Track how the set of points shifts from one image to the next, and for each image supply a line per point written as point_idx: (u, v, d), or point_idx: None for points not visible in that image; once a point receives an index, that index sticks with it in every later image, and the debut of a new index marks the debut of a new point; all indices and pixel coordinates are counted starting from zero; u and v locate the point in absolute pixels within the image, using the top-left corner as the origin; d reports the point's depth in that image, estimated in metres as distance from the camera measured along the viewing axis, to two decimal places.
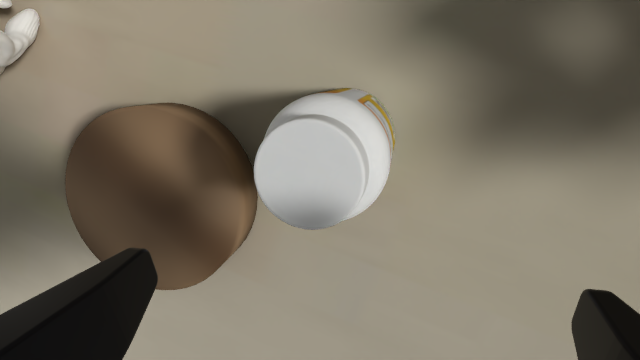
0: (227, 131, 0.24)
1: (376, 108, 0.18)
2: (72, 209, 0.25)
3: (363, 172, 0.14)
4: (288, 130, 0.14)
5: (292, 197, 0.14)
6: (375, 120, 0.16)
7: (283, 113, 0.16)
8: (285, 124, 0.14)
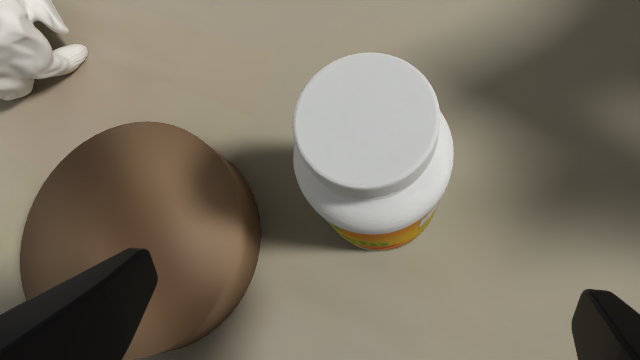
0: (242, 177, 0.21)
1: None
2: (26, 232, 0.20)
3: (438, 114, 0.11)
4: (348, 62, 0.11)
5: (338, 143, 0.11)
6: None
7: None
8: (346, 57, 0.11)
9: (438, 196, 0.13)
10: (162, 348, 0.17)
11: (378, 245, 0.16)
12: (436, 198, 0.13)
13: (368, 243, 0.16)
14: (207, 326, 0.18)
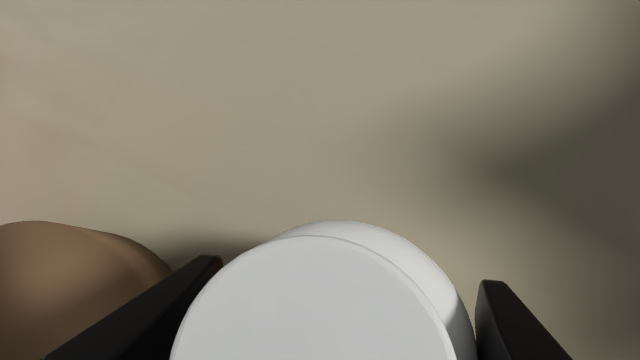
0: None
1: None
2: None
3: None
4: (278, 258, 0.06)
5: None
6: (452, 285, 0.08)
7: None
8: (274, 243, 0.06)
9: None
10: None
11: None
12: None
13: None
14: None
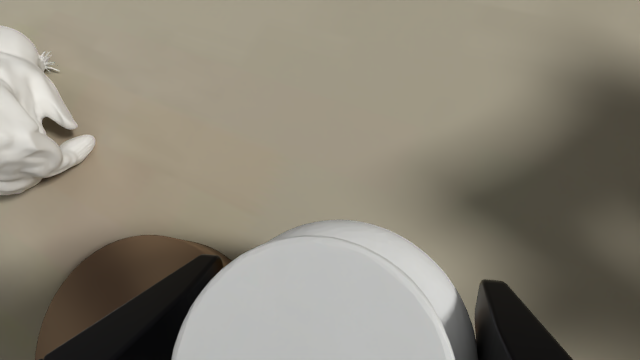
0: None
1: None
2: (40, 343, 0.20)
3: None
4: (278, 258, 0.06)
5: None
6: (452, 284, 0.08)
7: None
8: (274, 243, 0.06)
9: None
10: None
11: None
12: None
13: None
14: None
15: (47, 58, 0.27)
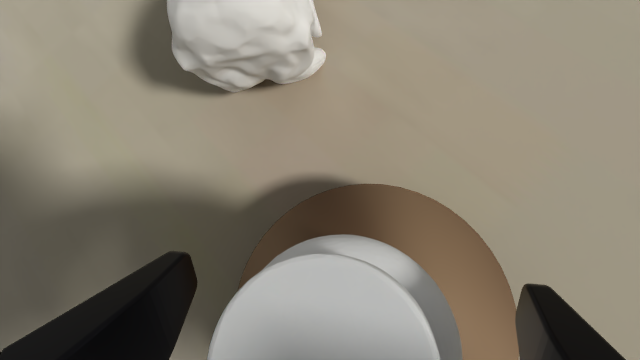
0: None
1: None
2: (247, 273, 0.17)
3: None
4: (296, 271, 0.07)
5: None
6: (440, 291, 0.09)
7: (287, 254, 0.10)
8: (292, 259, 0.07)
9: None
10: None
11: None
12: None
13: None
14: None
15: None
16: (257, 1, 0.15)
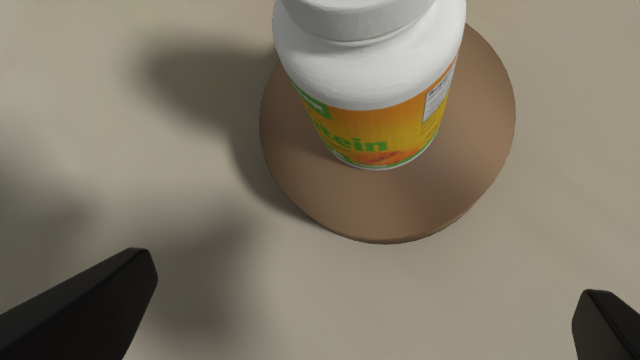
0: None
1: None
2: (272, 82, 0.19)
3: None
4: None
5: None
6: None
7: None
8: None
9: (447, 56, 0.10)
10: (403, 234, 0.16)
11: (375, 149, 0.14)
12: (445, 58, 0.10)
13: (363, 144, 0.14)
14: (434, 230, 0.18)
15: None
16: None
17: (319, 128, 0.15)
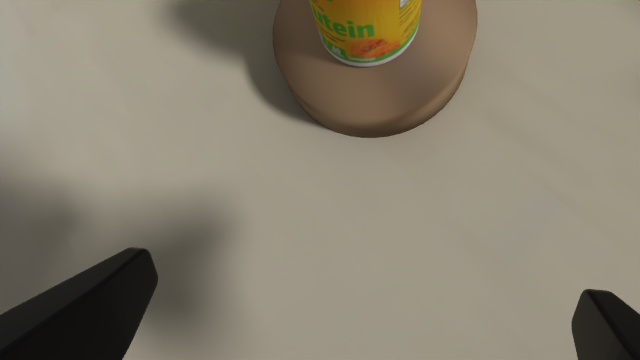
0: None
1: None
2: (282, 5, 0.23)
3: None
4: None
5: None
6: None
7: None
8: None
9: None
10: (388, 114, 0.21)
11: (365, 34, 0.18)
12: None
13: (356, 28, 0.18)
14: (414, 118, 0.22)
15: None
16: None
17: (322, 21, 0.19)
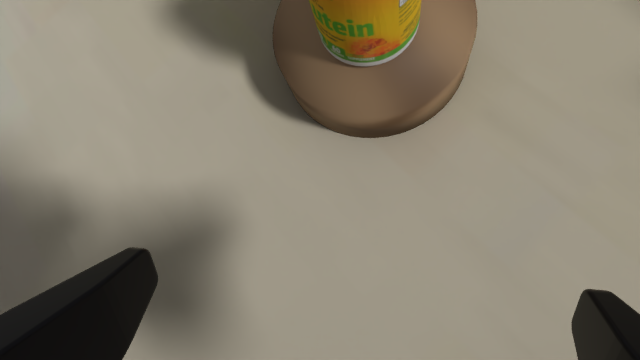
0: None
1: None
2: (282, 5, 0.23)
3: None
4: None
5: None
6: None
7: None
8: None
9: None
10: (388, 114, 0.21)
11: (364, 33, 0.18)
12: None
13: (355, 27, 0.18)
14: (414, 118, 0.22)
15: None
16: None
17: (321, 20, 0.19)
